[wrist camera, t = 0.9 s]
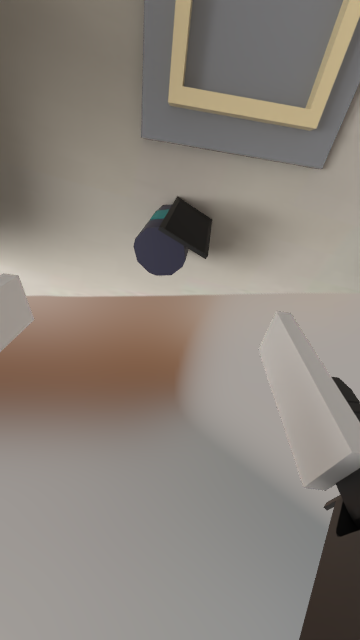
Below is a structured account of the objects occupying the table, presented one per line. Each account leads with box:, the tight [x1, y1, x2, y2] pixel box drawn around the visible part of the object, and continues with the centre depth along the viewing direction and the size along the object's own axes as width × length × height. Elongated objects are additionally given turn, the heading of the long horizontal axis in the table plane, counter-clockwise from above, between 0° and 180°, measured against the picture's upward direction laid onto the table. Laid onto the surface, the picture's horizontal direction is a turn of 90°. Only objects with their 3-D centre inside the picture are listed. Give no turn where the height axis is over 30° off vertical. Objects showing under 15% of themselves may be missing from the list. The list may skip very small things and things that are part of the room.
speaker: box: [134, 196, 212, 275], centre depth 25 cm, size 8×6×10 cm
